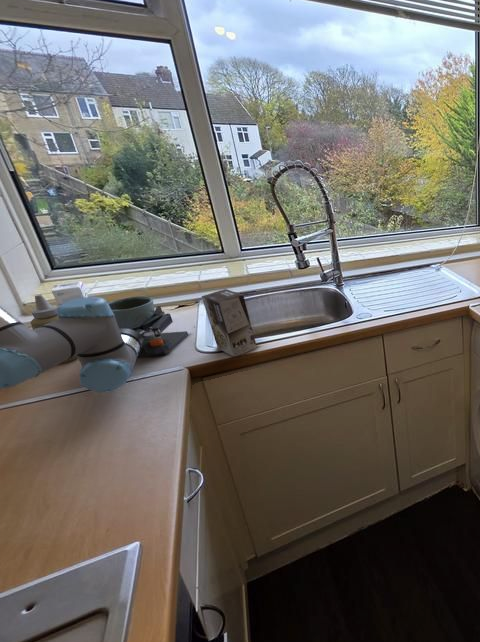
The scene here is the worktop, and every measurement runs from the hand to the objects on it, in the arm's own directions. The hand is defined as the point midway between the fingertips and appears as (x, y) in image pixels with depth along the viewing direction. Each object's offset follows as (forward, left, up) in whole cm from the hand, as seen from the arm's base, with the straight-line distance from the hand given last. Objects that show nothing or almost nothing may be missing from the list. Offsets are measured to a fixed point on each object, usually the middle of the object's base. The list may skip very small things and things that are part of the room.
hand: (136, 314), depth 114 cm
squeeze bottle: (-14, -8, -9) cm, 18 cm away
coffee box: (+27, -10, -9) cm, 30 cm away
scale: (+3, -5, -8) cm, 10 cm away
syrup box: (-21, +10, -9) cm, 25 cm away
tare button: (+8, -9, -6) cm, 13 cm away
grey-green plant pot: (+2, -4, -7) cm, 8 cm away
